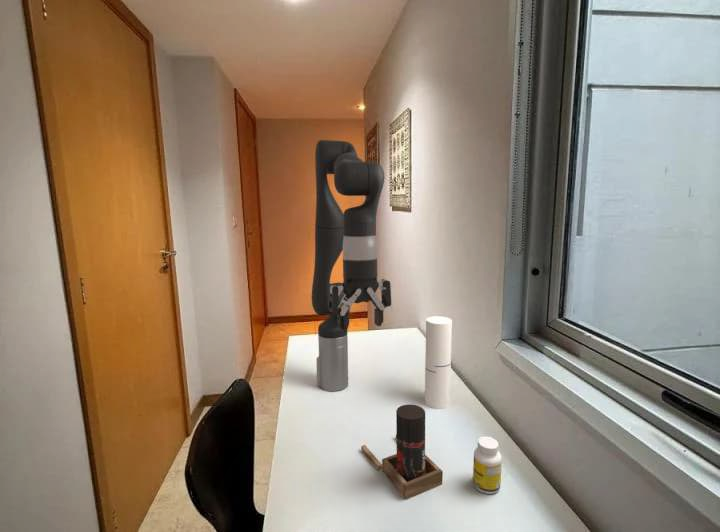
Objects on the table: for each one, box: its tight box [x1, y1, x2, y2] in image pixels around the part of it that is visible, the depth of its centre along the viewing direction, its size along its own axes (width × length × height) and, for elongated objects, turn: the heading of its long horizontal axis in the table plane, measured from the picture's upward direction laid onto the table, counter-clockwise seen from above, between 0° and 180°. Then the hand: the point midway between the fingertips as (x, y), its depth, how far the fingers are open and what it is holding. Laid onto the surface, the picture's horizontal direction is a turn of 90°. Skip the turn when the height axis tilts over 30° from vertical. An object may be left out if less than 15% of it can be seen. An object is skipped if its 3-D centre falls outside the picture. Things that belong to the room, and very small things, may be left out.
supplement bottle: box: [472, 436, 503, 495], centre depth 78 cm, size 5×5×10 cm
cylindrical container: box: [424, 315, 453, 410], centre depth 110 cm, size 7×7×25 cm
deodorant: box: [395, 404, 426, 482], centre depth 80 cm, size 6×6×15 cm
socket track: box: [360, 433, 444, 500], centre depth 85 cm, size 18×11×3 cm, turn 27°
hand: (360, 328), depth 85 cm, fingers open, 8 cm apart
